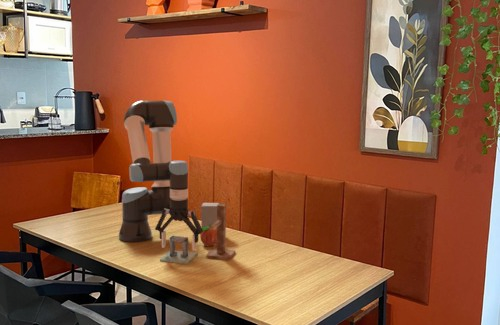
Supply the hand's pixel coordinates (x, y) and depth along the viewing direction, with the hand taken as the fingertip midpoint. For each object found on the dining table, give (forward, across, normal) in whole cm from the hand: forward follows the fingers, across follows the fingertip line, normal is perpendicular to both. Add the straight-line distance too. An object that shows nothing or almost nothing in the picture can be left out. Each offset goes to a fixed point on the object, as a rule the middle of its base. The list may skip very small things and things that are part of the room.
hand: (178, 248), depth 211 cm
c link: (+3, 0, 0) cm, 3 cm away
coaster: (+4, 0, 0) cm, 4 cm away
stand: (+4, +16, +4) cm, 17 cm away
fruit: (+4, +7, +20) cm, 22 cm away
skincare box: (+4, +3, +34) cm, 34 cm away
